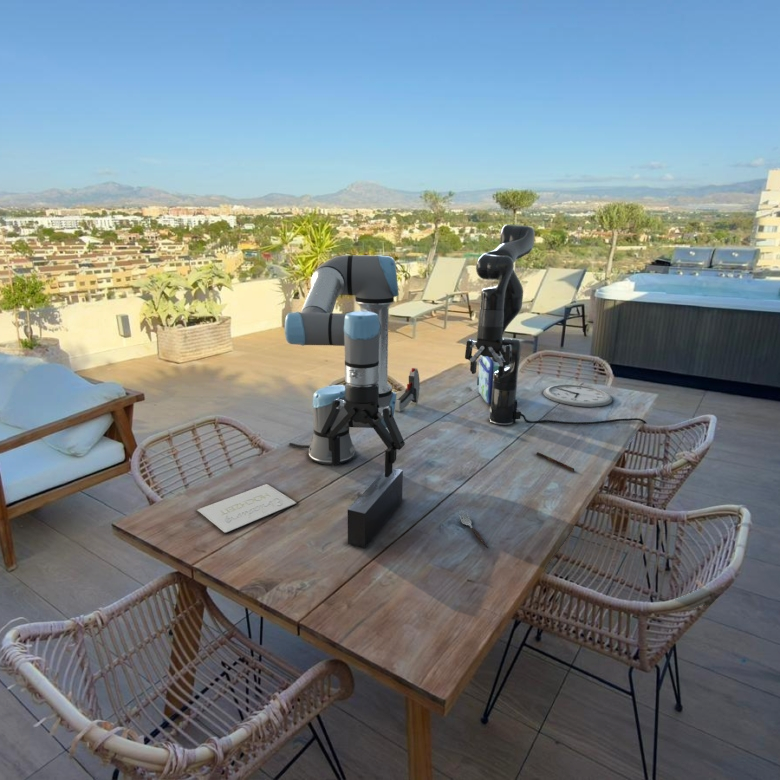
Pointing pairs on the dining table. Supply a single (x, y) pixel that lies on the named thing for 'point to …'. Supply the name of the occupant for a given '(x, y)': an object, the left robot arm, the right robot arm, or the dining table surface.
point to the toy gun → (409, 391)
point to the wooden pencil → (555, 461)
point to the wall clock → (577, 395)
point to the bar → (374, 508)
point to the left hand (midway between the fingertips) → (361, 469)
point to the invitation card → (246, 507)
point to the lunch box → (486, 377)
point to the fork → (468, 522)
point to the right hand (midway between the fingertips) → (486, 375)
